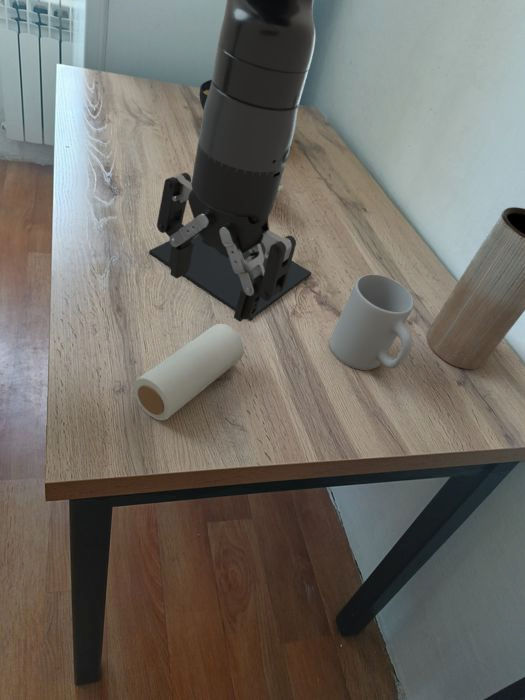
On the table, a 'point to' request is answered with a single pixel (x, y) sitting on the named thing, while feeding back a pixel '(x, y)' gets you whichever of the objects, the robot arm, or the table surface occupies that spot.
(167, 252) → the mat
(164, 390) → the towel roll
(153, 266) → the table surface
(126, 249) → the table surface
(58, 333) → the table surface
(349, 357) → the mug
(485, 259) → the planter
